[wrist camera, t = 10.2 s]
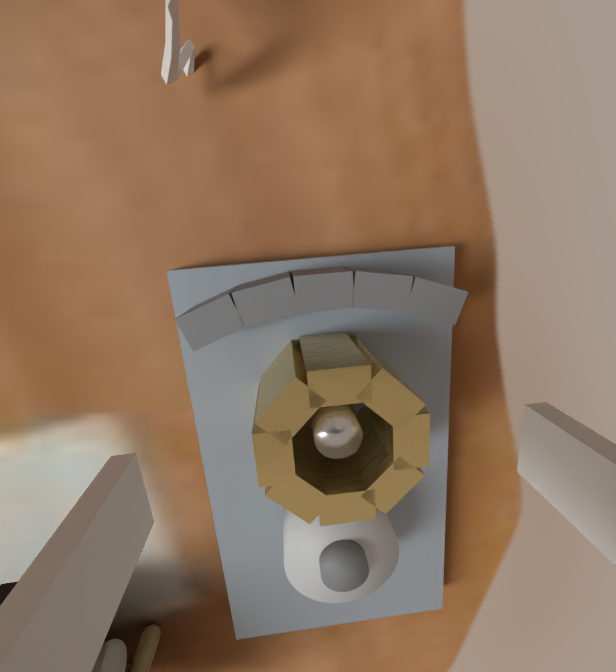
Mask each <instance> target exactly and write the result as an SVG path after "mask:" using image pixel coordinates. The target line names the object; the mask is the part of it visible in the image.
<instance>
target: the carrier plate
mask: <svg viewBox="0 0 616 672" xmlns="http://www.w3.org/2000/svg"><path fill="white" fill-rule="evenodd" d="M454 263H455V246H436V247H425V248H413V249H401V250H390V251H378V252H366V253H355V254H343V255H331V256H320V257H308V258H296V259H284V260H273V261H261V262H249V263H238V264H226V265H214V266H203V267H191V268H179V269H173V270H168V271H167V276H168V281H169V286H170V292H171V297H172V302H173V307H174V313H175V318H176V319H174V320H175V321H176V323H177V329H178V334H179V339H180V344H181V350H182V355H183V360H184V366H185V371H186V376H187V382H188V387H189V392H190V397H191V403H192V408H193V413H194V419H195V424H196V429H197V434H198V440H199V445H200V450H201V456H202V461H203V466H204V471H205V477H206V482H207V487H208V493H209V498H210V503H211V509H212V514H213V519H214V524H215V530H216V535H217V540H218V546H219V551H220V556H221V561H222V567H223V572H224V577H225V583H226V588H227V593H228V598H229V604H230V609H231V614H232V620H233V625H234V630H235V636H236V640H239V639H245V638H252V637H258V636H265V635H271V634H278V633H285V632H291V631H298V630H304V629H311V628H317V627H324V626H331V625H337V624H344V623H350V622H357V621H364V620H370V619H377V618H383V617H390V616H396V615H403V614H410V613H416V612H423V611H429V610H436V609H442V606H443V578H444V549H445V520H446V492H447V463H448V435H449V406H450V377H451V349H452V325H456V323H457V320H458V318H459V315H460V312H461V310H462V307H463V305H464V302H465V300H466V297H467V294H468V292H467V291H464V290H460V289H457V288H454ZM337 332H346V333H347V334H348V336H349V337H350V338H351V337H352V335H353V334H354V335H355V336H357V337H358V338H359V339H360V340H361V341H362V342H364V343H365V344H366V345H367V346H368V347H370V348H371V349H372V350H373V351H374V352H376V353H377V354H378V355H379V356H380V357H382V358H383V359H384V360H385V361H386V362H387V363H388V364H389V365H390V366H391V367H392V368H393V369H394V370H395V371H396V372H397V374H398V375H399V376H400V377H401V378H402V379H403V380H404V381H405V382H406V383H407V384H408V385H409V386H410V388H411V389H412V390H413V391H414V392H415V393H416V394H417V395H418V396H419V397H420V398H421V399H422V400H423V402H424V403H425V404H426V405H425V406H424V407H425V408H426V409H427V411H428V412H429V413H430V454H429V466H425V467H420V468H421V470H422V471H423V473H424V475H425V476H424V477H423V478H422V479H421V480H420V481H419V482H418V483H417V484H416V485H415V486H414V487H413V488H412V489H411V490H410V491H409V492H408V493H407V494H406V495H405V496H404V497H403V498H402V499H401V500H400V501H399V502H398V503H397V504H396V505H395V506H394V507H393V508H391V509H390V510H389V511H388V512H387V513H386V514H385V513H383V512H382V511H380V510H379V509H377V508H376V519H372V520H364V521H357V522H349V523H342V524H334V525H327V526H320V522H319V515H318V516H317V517H316V518H315V519H314V520H313V521H312V523H311V524H308V523H307V522H305V521H304V520H302V519H301V518H299V517H297V516H296V515H294V514H293V513H291V512H290V511H288V510H286V509H285V508H283V507H282V506H280V505H279V504H277V503H275V502H274V501H272V500H271V499H269V498H267V497H266V496H265V487H259V483H258V476H257V469H256V462H255V455H254V448H253V441H252V428H253V421H254V414H255V407H256V400H257V393H258V386H259V383H260V382H261V375H262V374H263V372H264V371H265V370H266V369H267V368H268V367H269V365H270V364H271V363H272V362H273V361H274V360H275V358H276V357H277V356H278V355H279V354H280V353H281V351H282V350H283V349H284V348H285V347H286V346H287V344H288V343H289V342H290V341H292V342H294V343H295V344H296V345H297V346H299V347H300V343H299V336H306V335H317V334H327V333H337ZM351 406H352V409H353V411H354V413H355V415H356V414H357V413H358V412H359V411H360V410H361V409H362V407H363V406H364V403H355V404H351ZM305 425H307V426H308V427H309V428H311V429H312V425H311V420H310V419H309V420H308V421H307V422H306V423H305Z"/></svg>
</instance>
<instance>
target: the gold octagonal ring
mask: <svg viewBox="0 0 616 672" xmlns="http://www.w3.org/2000/svg"><path fill="white" fill-rule="evenodd" d="M299 343H300V347H299V346H297V345H296V344H295V343H294V342H292V341H290V342H289V343H288V344H287V346H286V347H285V348H284V349H283V350H282V351H281V353H280V354H279V355H278V356H277V357H276V358H275V360H274V361H273V362H272V363H271V364H270V365H269V367H268V368H267V369H266V370H265V371H264V372H263V374H262V375H261V382H260V383H259V386H258V393H257V400H256V407H255V414H254V421H253V428H252V441H253V448H254V455H255V462H256V469H257V476H258V483H259V487H265V496H266V497H267V498H269V499H271V500H272V501H274V502H275V503H277V504H279V505H280V506H282V507H283V508H285V509H286V510H288V511H290V512H291V513H293V514H294V515H296V516H297V517H299V518H301V519H302V520H304V521H305V522H307V523H308V524H311V523H312V521H313V520H314V519H315V518H316V517H317V516H318V515H319V522H320V526H327V525H334V524H342V523H349V522H357V521H364V520H372V519H376V508H377V509H379V510H380V511H382V512H383V513H385V514H386V513H387V512H388V511H389V510H390V509H391V508H393V507H394V506H395V505H396V504H397V503H398V502H399V501H400V500H401V499H402V498H403V497H404V496H405V495H406V494H407V493H408V492H409V491H410V490H411V489H412V488H413V487H414V486H415V485H416V484H417V483H418V482H419V481H420V480H421V479H422V478H423V477H424V476H425V475H424V473H423V471H422V470H421V468H420V467H425V466H429V454H430V413H429V412H428V411H427V409H426V408H425V407H424V406H425V405H426V404H425V403H424V402H423V400H422V399H421V398H420V397H419V396H418V395H417V394H416V393H415V392H414V391H413V390H412V389H411V388H410V386H409V385H408V384H407V383H406V382H405V381H404V380H403V379H402V378H401V377H400V376H399V375H398V374H397V372H396V371H395V370H394V369H393V368H392V367H391V366H390V365H389V364H388V363H387V362H386V361H385V360H384V359H383V358H382V357H380V356H379V355H378V354H377V353H376V352H374V351H373V350H372V349H371V348H370V347H368V346H367V345H366V344H365V343H364V342H362V341H361V340H360V339H359V338H358V337H357V336H355V335H354V334H353V335H352V337H351V338H350V337H349V336H348V334H347V333H346V332H337V333H327V334H317V335H306V336H299ZM355 403H364V406H363V407H362V409H361V410H360V411H359V412H358V413H357V414H356V418H357V420H358V422H359V424H360V426H361V429H362V432H363V438H362V442H361V445H360V446H359V448H358V449H357V450H356V451H355V452H354V453H353V454H352V455H350V456H348V457H345V458H341V459H333V458H329V457H326V456H324V455H323V454H321V453H320V452H319V451H318V449H317V448H316V445H315V442H314V436H313V431H312V429H311V428H309V427H308V426H307V425H305V423H306V422H307V421H308V420H309V419H310V418H311V416H312V415H313V414H314V413H315V412H316V411H317V410H318V409H319V408H320V407H328V406H337V405H346V404H355Z"/></svg>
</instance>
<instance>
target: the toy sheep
mask: <svg viewBox="0 0 616 672" xmlns="http://www.w3.org/2000/svg"><path fill="white" fill-rule="evenodd" d="M160 636H161V629H160V627H159V626H157V625H155V624H152V625H149V626H147V627H146V628H145V629H144V630H143V632H142V635H141V637H140V640H139V643H138V645H137V648H136V651H135V654H134V657H133V659H132V662H131V664H126V662H127V649H126V646H125V643H124V642H123V641H122V640H120V639H111V640H109V641H107V642H105V643H104V644H103V645H102V648H101V650H100V652H99V655H98V657H97V659H96V662H95V664H94V667H93V669H92V671H91V672H149V671H150V668H151V664H152V661H153V658H154V655H155V652H156V649H157V645H158V642H159V639H160Z"/></svg>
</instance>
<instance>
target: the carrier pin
mask: <svg viewBox="0 0 616 672" xmlns="http://www.w3.org/2000/svg"><path fill="white" fill-rule="evenodd" d="M310 420H311V425H312V431H313V436H314V442H315V445H316V448H317V449H318V451H319V452H320V453H321V454H323V455H324V456H326V457H329V458H333V459H341V458H345V457H348V456H350V455H352V454H353V453H354V452H355V451H356V450H357V449H358V448H359V446H360V445H361V442H362V438H363V432H362V429H361V426H360V424H359V422H358V420H357V418H356V415H355V413H354V411H353V409H352V406H351V404H346V405H337V406H328V407H320V408H319V409H318V410H317V411H316V412H315V413H314V414H313V415H312V416H311V418H310Z"/></svg>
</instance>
